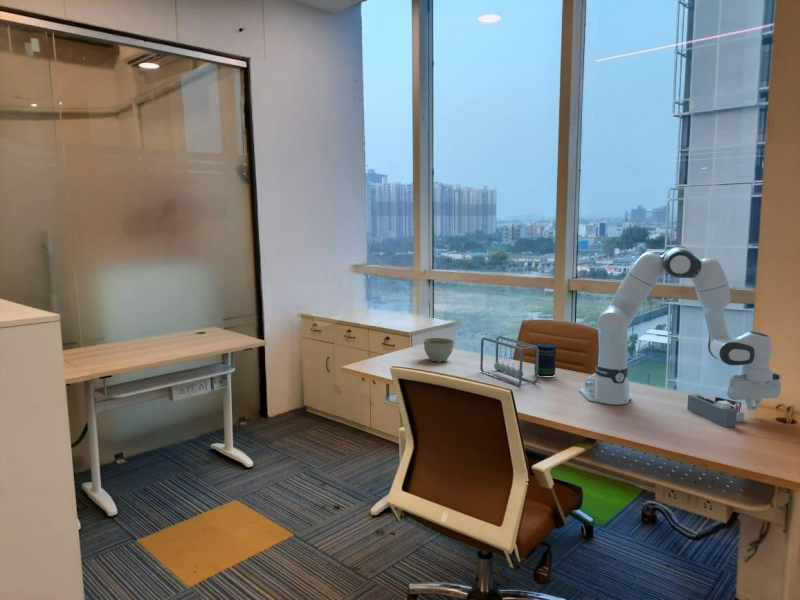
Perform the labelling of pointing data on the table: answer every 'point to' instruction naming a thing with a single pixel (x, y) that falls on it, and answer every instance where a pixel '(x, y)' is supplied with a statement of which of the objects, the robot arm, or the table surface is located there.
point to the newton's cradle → (507, 368)
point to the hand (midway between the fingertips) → (752, 409)
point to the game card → (738, 404)
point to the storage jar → (546, 359)
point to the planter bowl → (438, 348)
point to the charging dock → (714, 410)
